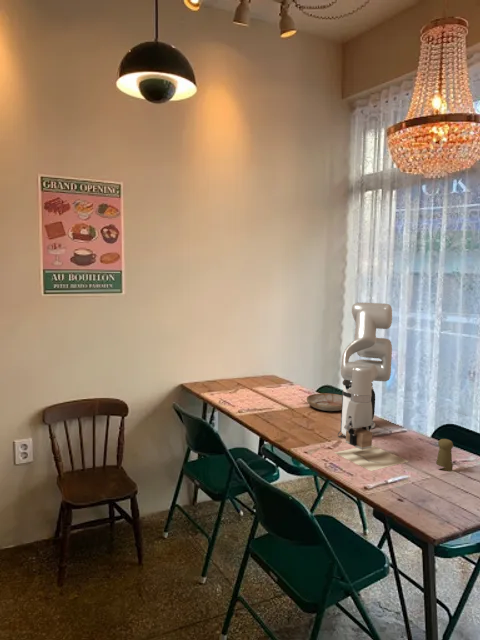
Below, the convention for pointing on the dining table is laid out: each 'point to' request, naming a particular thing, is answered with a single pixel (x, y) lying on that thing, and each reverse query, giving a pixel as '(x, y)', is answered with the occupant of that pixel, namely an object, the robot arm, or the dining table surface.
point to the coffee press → (345, 401)
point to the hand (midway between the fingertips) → (358, 443)
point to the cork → (445, 455)
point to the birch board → (371, 458)
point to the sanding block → (361, 438)
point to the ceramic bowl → (326, 401)
